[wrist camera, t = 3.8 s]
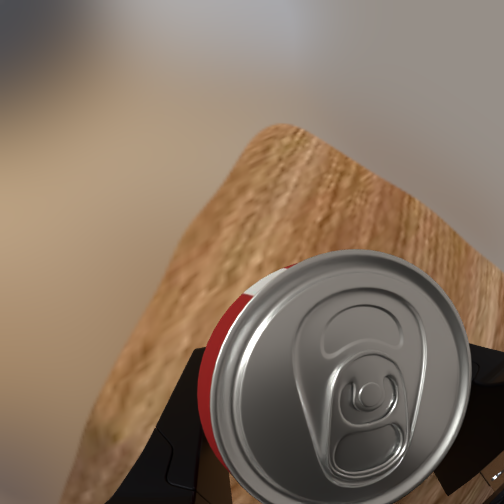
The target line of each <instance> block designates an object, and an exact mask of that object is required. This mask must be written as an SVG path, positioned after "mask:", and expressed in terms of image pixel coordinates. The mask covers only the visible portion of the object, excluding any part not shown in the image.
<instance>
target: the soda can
mask: <svg viewBox="0 0 504 504" xmlns="http://www.w3.org/2000/svg"><path fill="white" fill-rule="evenodd" d="M471 381H472V363H471V353H470V347H469V342H468V338H467V334H466V331H465V328H464V325H463V323H462V320H461V318H460V316H459V314H458V312H457V310H456V308H455V306H454V305H453V303H452V301H451V300H450V298H449V297H448V296H447V294H446V293H445V292H444V291H443V289H442V288H441V287H440V286H439V285H438V284H437V283H436V282H435V281H434V280H433V279H432V278H431V277H430V276H429V275H427V274H426V273H425V272H424V271H422V270H421V269H419V268H418V267H416V266H415V265H413V264H411V263H409V262H407V261H405V260H403V259H401V258H398V257H396V256H393V255H390V254H386V253H383V252H378V251H372V250H361V249H350V250H339V251H333V252H328V253H324V254H320V255H317V256H314V257H311V258H309V259H306V260H304V261H302V262H300V263H296V264H293V265H290V266H288V267H285V268H282V269H280V270H278V271H276V272H274V273H271V274H270V275H268V276H266V277H265V278H263V279H261V280H260V281H258V282H257V283H255V284H254V285H253V286H251V287H250V288H249V289H248V290H246V291H245V292H244V293H243V294H242V295H241V296H240V297H239V298H238V299H237V300H236V301H235V302H234V303H233V304H232V305H231V306H230V307H229V309H228V310H227V311H226V313H225V314H224V315H223V316H222V318H221V319H220V321H219V323H218V324H217V326H216V327H215V329H214V331H213V333H212V335H211V337H210V339H209V341H208V343H207V346H206V349H205V351H204V354H203V358H202V362H201V366H200V370H199V377H198V390H197V398H198V410H199V415H200V420H201V424H202V427H203V430H204V433H205V436H206V438H207V440H208V443H209V445H210V447H211V449H212V450H213V452H214V454H215V455H216V457H217V458H218V460H219V461H220V462H221V463H222V465H223V466H224V467H225V468H226V469H227V470H228V471H229V472H230V473H231V474H232V476H233V477H234V478H235V479H236V480H237V482H238V483H239V484H240V485H241V486H242V487H243V488H244V489H245V490H246V491H247V492H248V493H249V494H250V495H251V496H253V497H254V498H256V499H257V500H258V501H260V502H261V503H263V504H393V503H395V502H396V501H398V500H400V499H401V498H403V497H404V496H406V495H407V494H409V493H410V492H411V491H413V490H414V489H415V488H416V487H418V486H419V485H420V484H421V483H422V482H423V481H424V480H425V479H426V478H427V477H428V476H429V475H430V474H431V473H432V472H433V471H434V470H435V469H436V468H437V466H438V465H439V464H440V463H441V461H442V460H443V459H444V457H445V456H446V454H447V453H448V451H449V449H450V448H451V446H452V444H453V443H454V441H455V439H456V437H457V435H458V433H459V430H460V428H461V426H462V423H463V420H464V417H465V414H466V411H467V407H468V403H469V398H470V391H471Z"/></svg>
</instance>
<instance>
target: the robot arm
mask: <svg viewBox="0 0 504 504" xmlns="http://www.w3.org/2000/svg"><path fill="white" fill-rule="evenodd" d="M469 347H470V353H471V363H472V381H471V391H470V398H469V403H468V407H467V411H466V414H465V417H464V420H463V423H462V426H461V428H460V430H459V433H458V435H457V437H456V439H455V441H454V443H453V444H452V446H451V448H450V449H449V451H448V453H447V454H446V456H445V457H444V459H443V460H442V461H441V463H440V464H439V465H438V466H437V468H436V469H435V470H434V473H435V475H436V477H437V478H438V480H439V482H440V484H441V485H442V487H443V489H444V491H445V492H446V494H447V495H448V496H449V495H450V494H452V493H453V492H455V491H456V490H457V489H459V488H460V487H461V486H463V485H464V484H465V483H467V482H468V481H469V480H471V479H472V478H473V477H474V476H476V475H477V474H478V473H479V472H480V474H481V475H482V476H483V478H484V479H485V481H486V482H487V483H488V485H489V486H491V487H492V488H493V490H494V491H495V492H494V493H493V494H492V495H491V496H490V497H489V498H488V499H487V500H486V501H484V502H483V503H482V504H504V352H501V351H497V350H493V349H489V348H485V347H481V346H477V345H474V344H470V343H469ZM205 349H206V347H202V348H197V349H195V350H194V351H193V353H192V355H191V357H190V359H189V361H188V363H187V365H186V367H185V369H184V371H183V373H182V375H181V377H180V379H179V381H178V383H177V385H176V387H175V389H174V391H173V393H172V395H171V397H170V399H169V401H168V403H167V405H166V407H165V409H164V411H163V413H162V415H161V417H160V419H159V421H158V423H157V425H156V428H155V429H154V431H153V433H152V435H151V437H150V439H149V441H148V442H147V444H146V446H145V448H144V450H143V452H142V453H141V455H140V456H139V458H138V460H137V461H136V463H135V464H134V466H133V467H132V469H131V470H130V472H129V473H128V475H127V476H126V478H125V479H124V480H123V482H122V483H121V485H120V486H119V488H118V489H117V491H116V492H115V493H114V495H113V496H112V497H111V498H110V499H109V500H108V501H107V502H106V503H105V504H232V496H231V488H230V479H229V471H228V470H227V469H226V468H225V467H224V466H223V465H222V463H221V462H220V461H219V460H218V458H217V457H216V455H215V454H214V452H213V450H212V449H211V447H210V445H209V443H208V440H207V438H206V436H205V433H204V430H203V427H202V424H201V420H200V415H199V410H198V398H197V390H198V377H199V370H200V366H201V362H202V358H203V354H204V351H205Z"/></svg>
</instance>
